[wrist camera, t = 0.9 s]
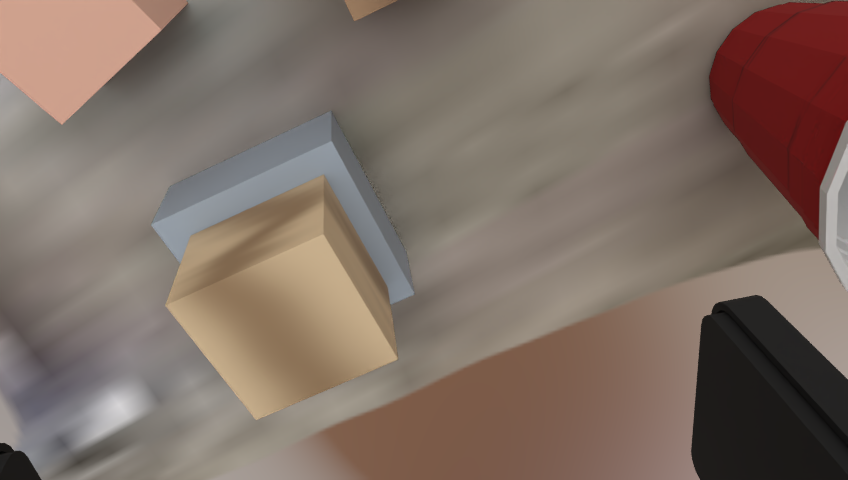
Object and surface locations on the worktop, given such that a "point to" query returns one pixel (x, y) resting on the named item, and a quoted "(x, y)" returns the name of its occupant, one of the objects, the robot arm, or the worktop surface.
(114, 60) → the terracotta block
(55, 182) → the worktop surface
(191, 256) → the oak block
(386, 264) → the base block
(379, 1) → the walnut cube
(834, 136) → the plastic cup
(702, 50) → the worktop surface
